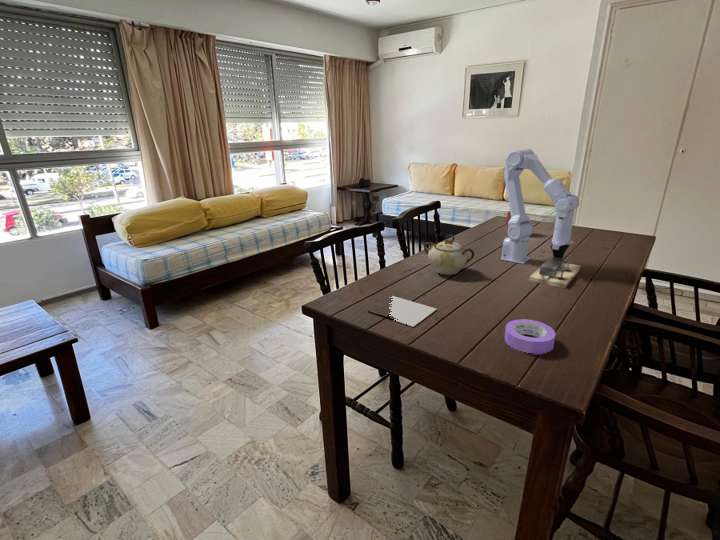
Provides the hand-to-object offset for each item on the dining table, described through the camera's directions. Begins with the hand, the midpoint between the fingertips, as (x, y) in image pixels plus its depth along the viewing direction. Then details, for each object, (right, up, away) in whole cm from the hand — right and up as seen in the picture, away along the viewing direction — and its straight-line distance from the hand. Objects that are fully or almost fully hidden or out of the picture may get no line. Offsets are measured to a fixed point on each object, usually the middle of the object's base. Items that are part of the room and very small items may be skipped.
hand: (557, 263), depth 144 cm
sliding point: (-1, -2, -3) cm, 3 cm away
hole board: (-2, -4, -3) cm, 6 cm away
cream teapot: (-41, -3, +3) cm, 42 cm away
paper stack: (-56, -15, -27) cm, 64 cm away
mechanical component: (+4, +16, +51) cm, 54 cm away
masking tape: (-32, -22, -46) cm, 60 cm away
